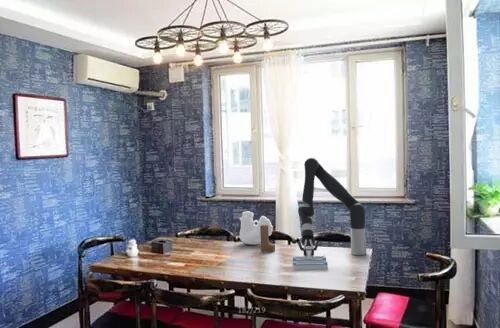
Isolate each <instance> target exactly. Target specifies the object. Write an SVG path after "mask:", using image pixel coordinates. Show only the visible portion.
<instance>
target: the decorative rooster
mask: <svg viewBox="0 0 500 328" xmlns="http://www.w3.org/2000/svg"><path fill="white" fill-rule="evenodd" d="M254 216H255V215H254V212H252V211H249V210H246V211H243V212H242V213H241V217H238V218H239V220H240V230H239V240H240V241H241V243H242V244H244V245H245V244H246V245H255V246H256V245H259V244H261V234H260V226H261V225H268V234H269V237H270V236H271V235H272V233H273V230H274V226H273V225H272V222H271V220H270V219H269V218H268V217H266V216H265V215H261V216H260V217H259V220H257V219H255V220H254ZM256 223H257V224H256Z"/></svg>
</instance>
